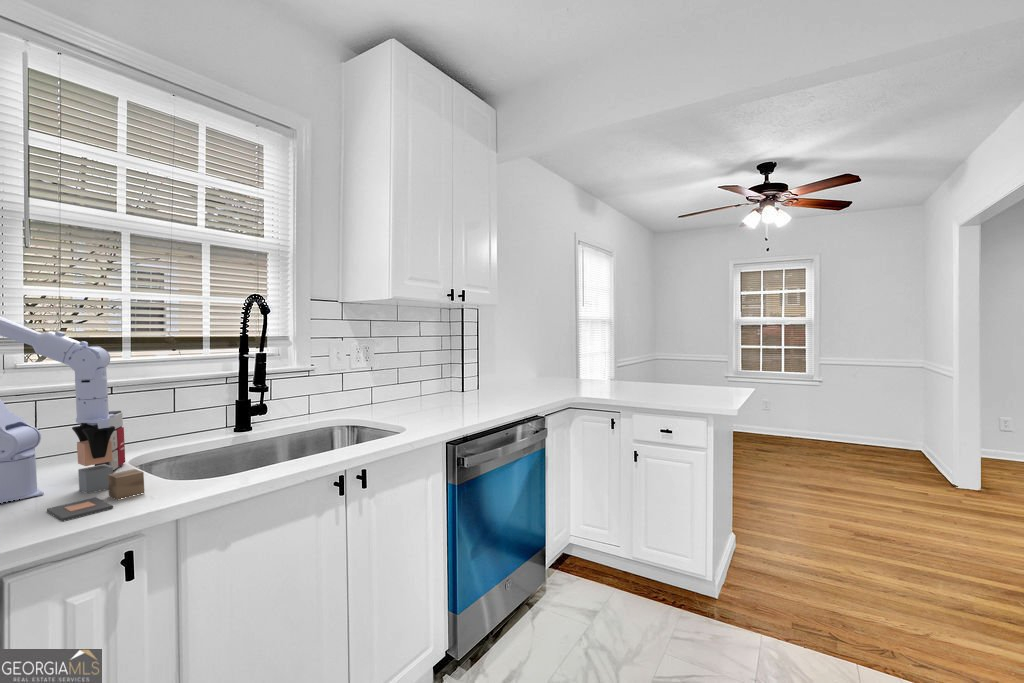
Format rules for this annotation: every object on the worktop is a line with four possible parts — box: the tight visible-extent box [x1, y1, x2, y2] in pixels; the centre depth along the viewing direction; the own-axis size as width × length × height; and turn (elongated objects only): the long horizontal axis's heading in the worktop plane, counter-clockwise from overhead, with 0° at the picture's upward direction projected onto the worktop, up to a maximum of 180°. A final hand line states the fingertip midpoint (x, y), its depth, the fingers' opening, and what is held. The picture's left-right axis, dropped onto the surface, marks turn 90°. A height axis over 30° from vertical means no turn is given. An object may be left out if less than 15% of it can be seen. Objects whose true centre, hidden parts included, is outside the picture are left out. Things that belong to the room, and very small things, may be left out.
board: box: [46, 496, 114, 522], centre depth 103 cm, size 10×8×1 cm
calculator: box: [94, 410, 126, 471], centre depth 133 cm, size 11×4×15 cm, turn 22°
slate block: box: [77, 464, 114, 494], centre depth 117 cm, size 5×5×5 cm
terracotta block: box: [76, 440, 112, 467], centre depth 116 cm, size 5×5×5 cm
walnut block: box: [108, 468, 145, 501], centre depth 112 cm, size 5×5×5 cm
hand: (94, 456), depth 117 cm, fingers closed on terracotta block, 5 cm apart
